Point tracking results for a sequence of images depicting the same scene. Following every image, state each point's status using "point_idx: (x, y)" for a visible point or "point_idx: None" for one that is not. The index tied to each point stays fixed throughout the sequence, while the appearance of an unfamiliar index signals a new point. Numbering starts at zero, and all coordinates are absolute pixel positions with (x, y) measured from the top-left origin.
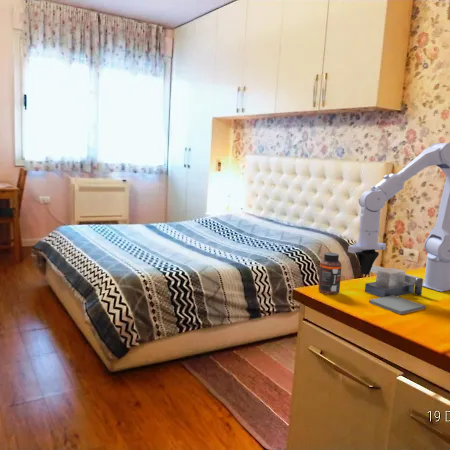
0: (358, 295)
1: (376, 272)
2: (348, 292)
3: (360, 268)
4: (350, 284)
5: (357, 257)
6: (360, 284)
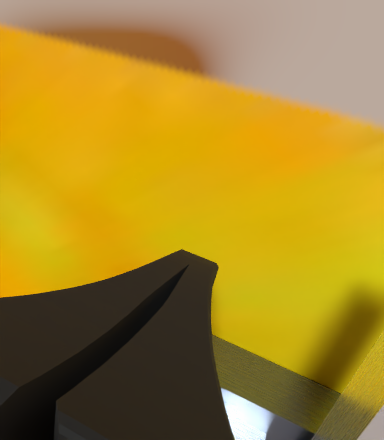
0: (32, 274)
1: (381, 344)
2: (25, 221)
3: (153, 263)
4: (161, 160)
5: (24, 301)
6: (218, 213)
